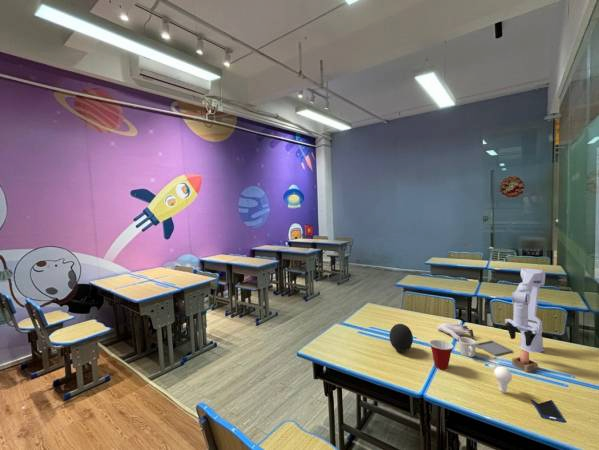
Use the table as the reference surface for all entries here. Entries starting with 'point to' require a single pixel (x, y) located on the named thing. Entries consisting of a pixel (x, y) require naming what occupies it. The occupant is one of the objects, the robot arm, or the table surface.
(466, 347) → the cup
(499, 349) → the tray
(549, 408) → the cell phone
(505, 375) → the lightbulb
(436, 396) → the table surface
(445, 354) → the plastic cup
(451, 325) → the yeti figurine
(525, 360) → the pink rounded capsule
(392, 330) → the decorative egg
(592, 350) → the table surface
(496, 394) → the table surface
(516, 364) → the holder
